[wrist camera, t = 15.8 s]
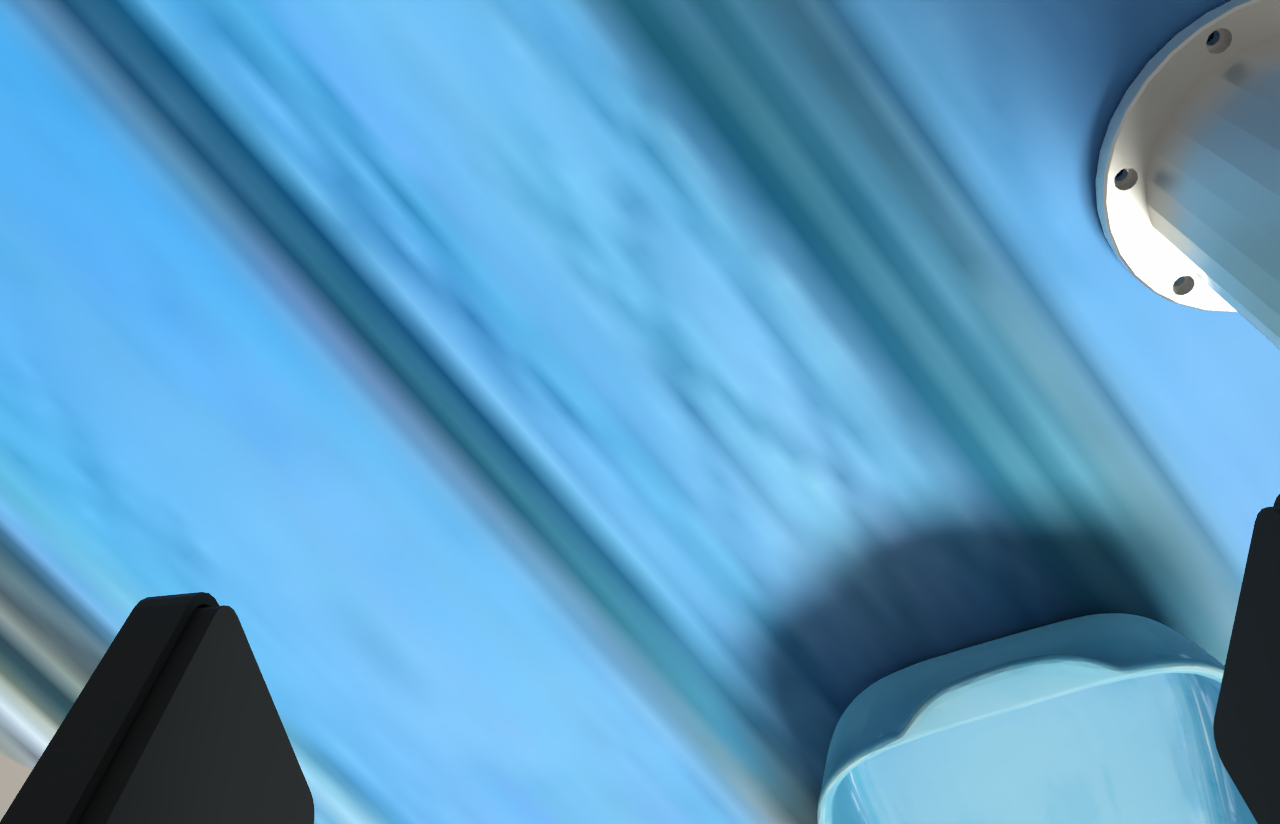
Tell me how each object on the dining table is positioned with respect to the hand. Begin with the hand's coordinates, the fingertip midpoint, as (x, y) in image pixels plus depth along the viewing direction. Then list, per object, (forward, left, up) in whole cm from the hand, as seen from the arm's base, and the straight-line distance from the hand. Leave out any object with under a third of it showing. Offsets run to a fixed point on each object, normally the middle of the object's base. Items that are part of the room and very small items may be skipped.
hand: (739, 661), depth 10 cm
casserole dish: (-16, +45, -34) cm, 59 cm away
